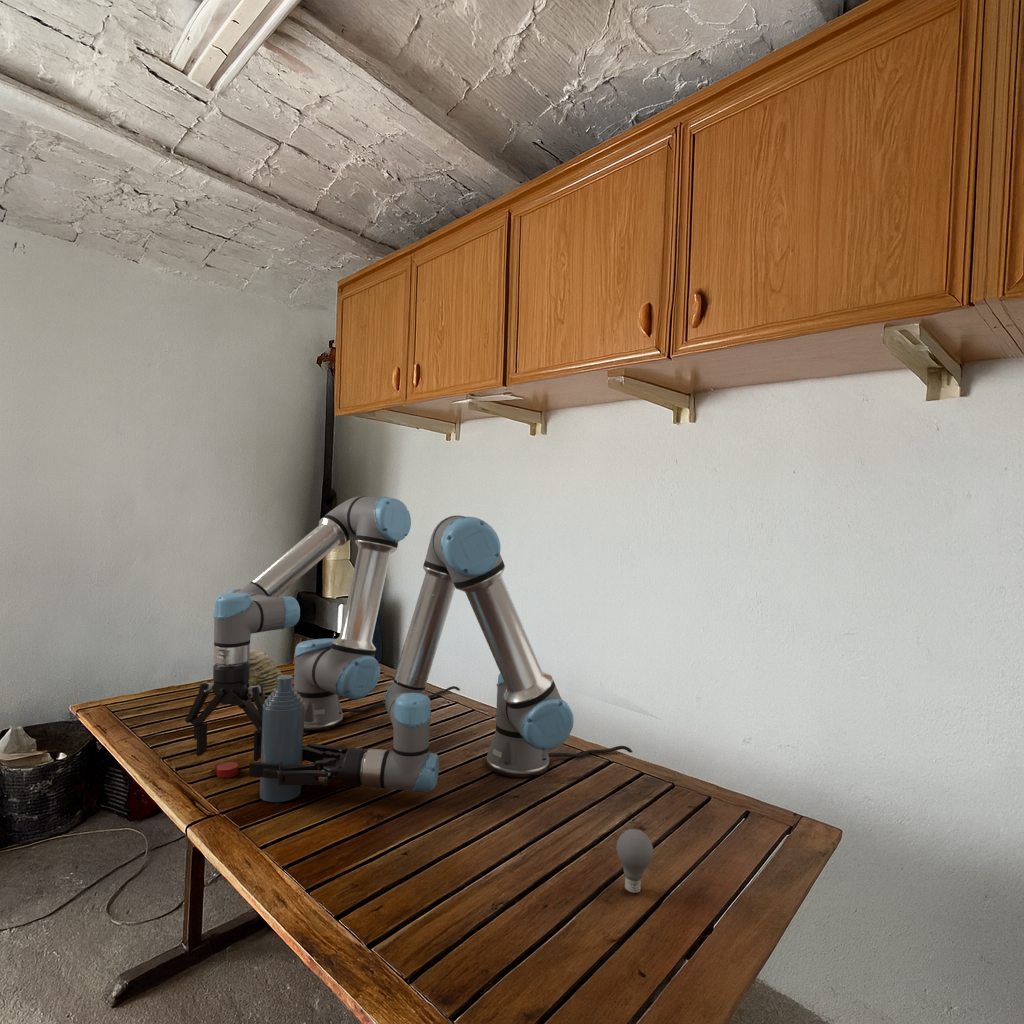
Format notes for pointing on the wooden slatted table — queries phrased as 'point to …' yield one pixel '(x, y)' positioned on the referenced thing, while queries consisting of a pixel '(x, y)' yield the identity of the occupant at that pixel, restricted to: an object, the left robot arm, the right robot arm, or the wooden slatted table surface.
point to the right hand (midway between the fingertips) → (260, 760)
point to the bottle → (282, 737)
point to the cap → (227, 769)
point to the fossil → (262, 671)
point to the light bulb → (634, 857)
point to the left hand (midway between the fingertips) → (229, 756)
